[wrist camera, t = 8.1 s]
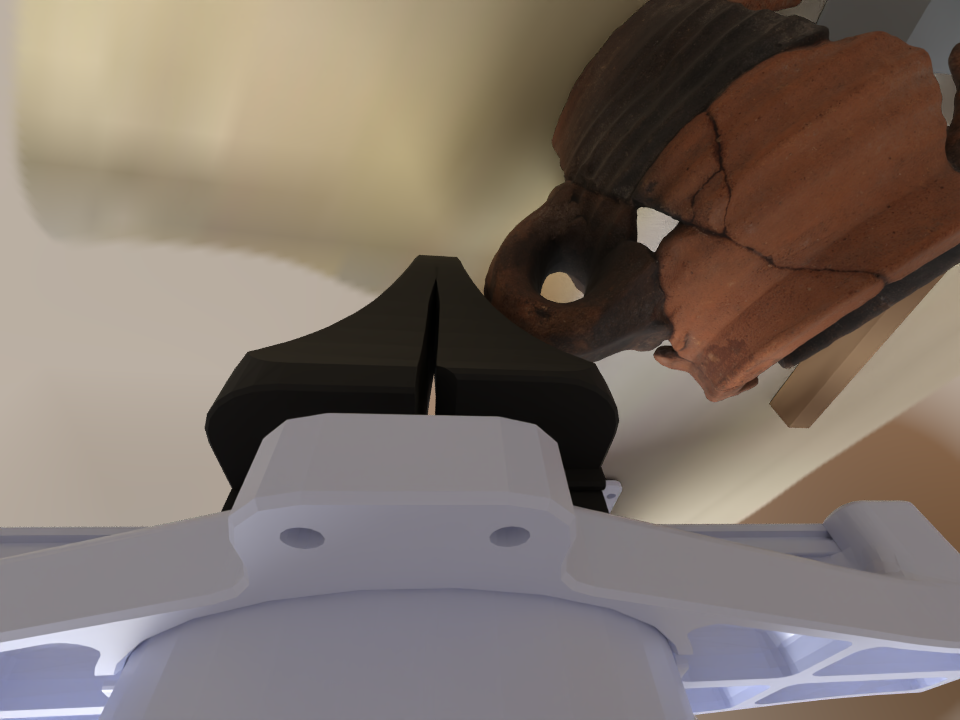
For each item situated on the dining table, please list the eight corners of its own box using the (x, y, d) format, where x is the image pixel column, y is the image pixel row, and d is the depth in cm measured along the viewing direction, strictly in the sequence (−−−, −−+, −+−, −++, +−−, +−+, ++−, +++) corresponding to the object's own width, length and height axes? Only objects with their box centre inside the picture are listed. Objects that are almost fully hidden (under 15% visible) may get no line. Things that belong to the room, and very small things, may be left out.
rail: (788, 404, 20) (808, 428, 19) (769, 403, 20) (788, 427, 19) (1075, 41, 11) (1147, 44, 10) (1044, 37, 11) (1112, 39, 10)
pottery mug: (854, -149, 9) (1346, 11, 6) (709, 182, 18) (872, 327, 14) (373, 89, 9) (598, 429, 5) (462, 313, 17) (570, 498, 14)
